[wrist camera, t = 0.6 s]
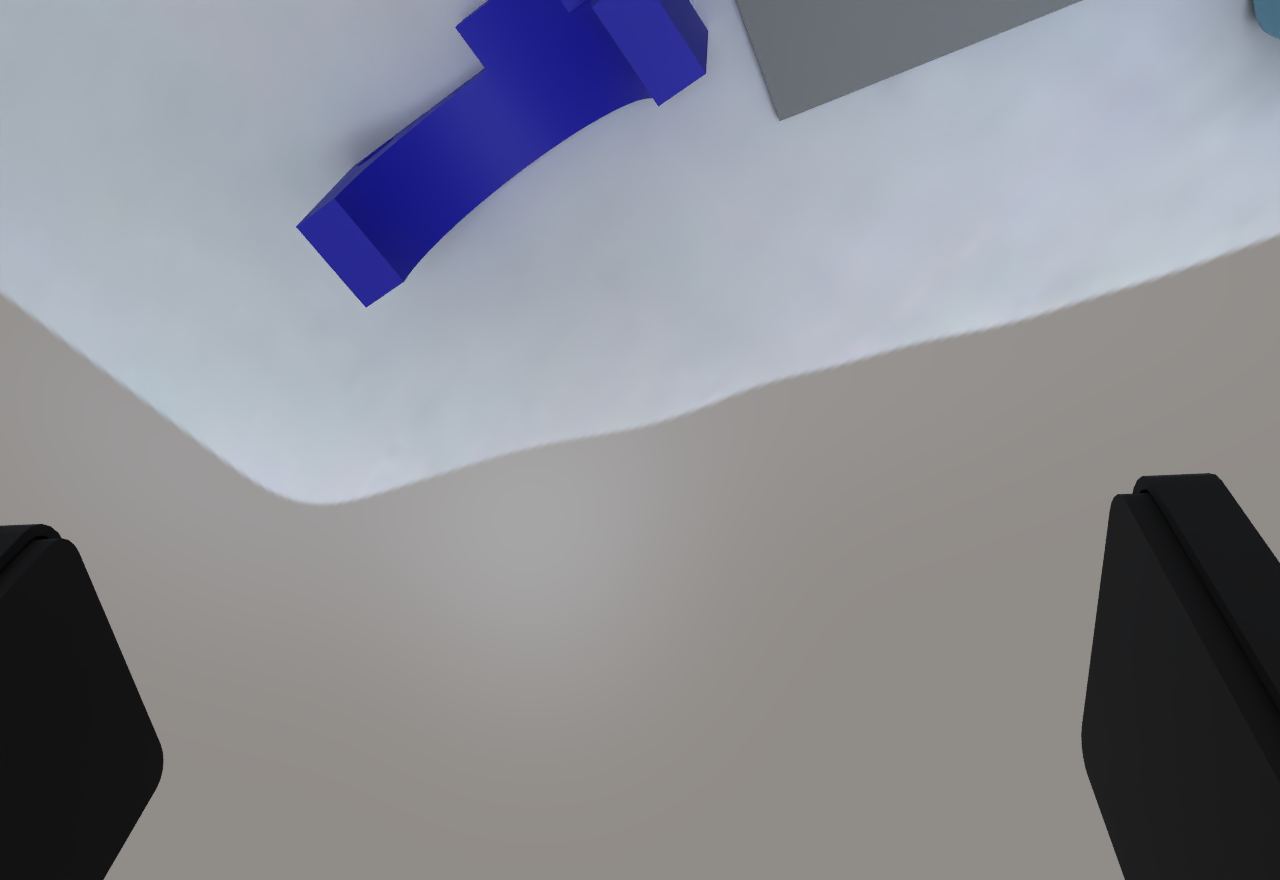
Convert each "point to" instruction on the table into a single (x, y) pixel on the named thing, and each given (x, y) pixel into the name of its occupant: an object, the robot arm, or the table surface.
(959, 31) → the mat
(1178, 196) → the table surface
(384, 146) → the cable clip
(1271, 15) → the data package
